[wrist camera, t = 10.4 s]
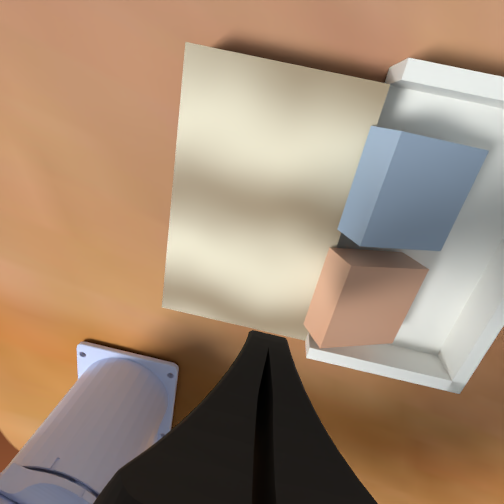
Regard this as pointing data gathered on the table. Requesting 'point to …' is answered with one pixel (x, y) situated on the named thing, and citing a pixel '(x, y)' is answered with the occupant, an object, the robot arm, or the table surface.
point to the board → (260, 184)
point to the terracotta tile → (362, 297)
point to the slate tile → (408, 190)
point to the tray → (457, 243)
